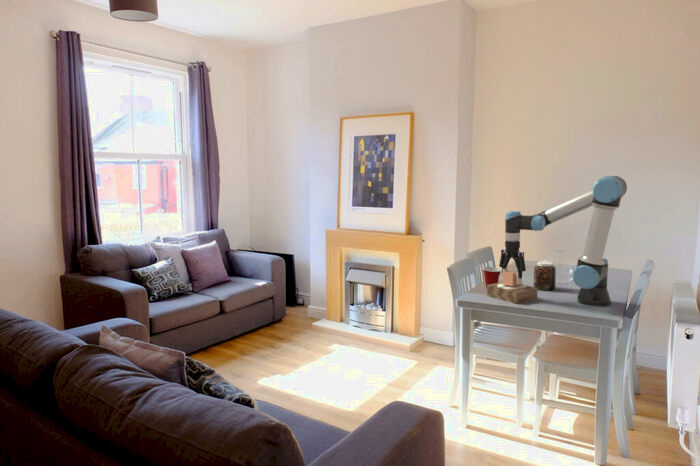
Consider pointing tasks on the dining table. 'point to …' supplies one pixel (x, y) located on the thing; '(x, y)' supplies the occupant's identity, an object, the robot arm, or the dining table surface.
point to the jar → (544, 276)
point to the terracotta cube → (510, 278)
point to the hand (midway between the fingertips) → (511, 282)
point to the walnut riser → (512, 292)
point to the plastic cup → (491, 275)
